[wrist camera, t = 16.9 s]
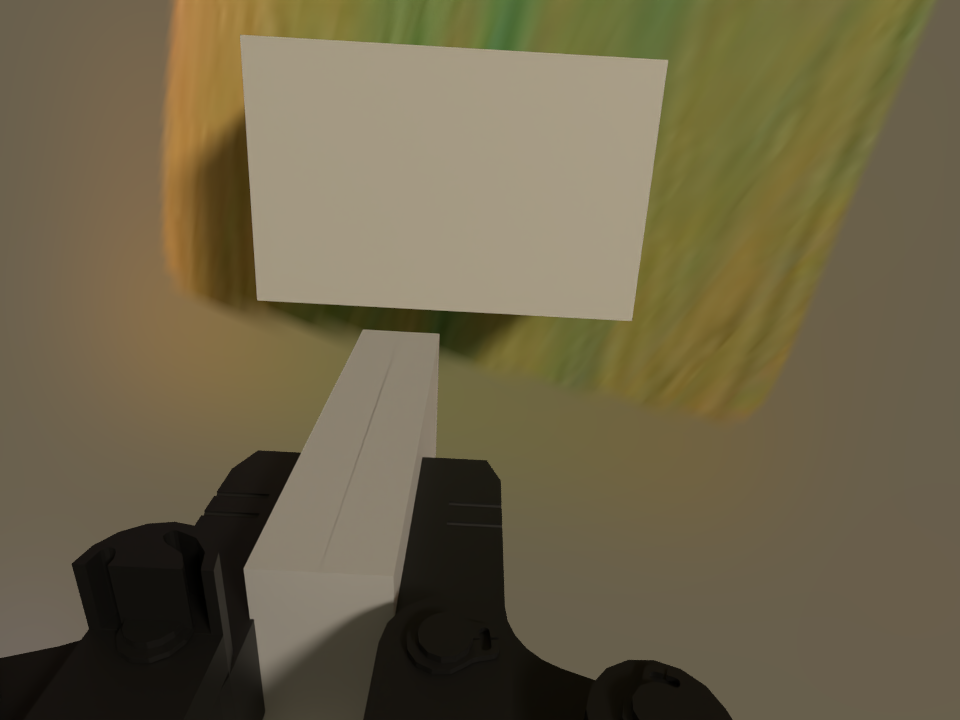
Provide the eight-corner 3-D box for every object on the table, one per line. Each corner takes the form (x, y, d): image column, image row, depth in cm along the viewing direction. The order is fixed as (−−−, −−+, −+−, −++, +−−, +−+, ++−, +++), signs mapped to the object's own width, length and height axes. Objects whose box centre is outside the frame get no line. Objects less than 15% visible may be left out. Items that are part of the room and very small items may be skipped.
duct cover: (263, 296, 28) (257, 300, 27) (247, 37, 25) (240, 34, 24) (627, 316, 28) (631, 320, 28) (662, 62, 25) (668, 60, 24)
